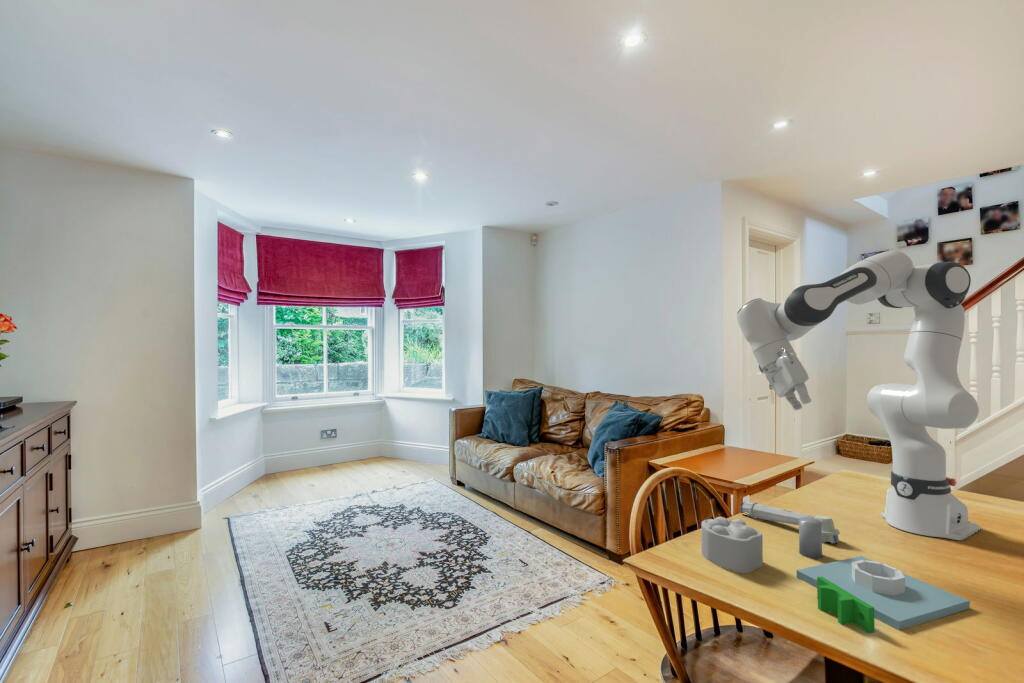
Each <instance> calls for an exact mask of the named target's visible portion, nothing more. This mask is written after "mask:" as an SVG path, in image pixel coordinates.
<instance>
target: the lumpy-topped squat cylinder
mask: <svg viewBox="0 0 1024 683" xmlns="http://www.w3.org/2000/svg"><path fill="white" fill-rule="evenodd" d="M700 534H701V535H700V536H701V555H702V554H703V555H702V556H703V558H704V559H705V560H707V561H708V560H709V561H710V562H709V561H708V562H709V563H711V562H712V563H711V564H713V563H714V564H713V565H715V564H716V566H718V565H719V566H718V567H720V566H721V567H720V568H722V567H723V569H725V568H726V569H725V570H727V569H729V570H728V571H730V570H731V571H730V572H734V571H735V572H734V573H737V572H738V573H739V574H750V573H751V572H753V571H754V570H757V569H760V567H761V568H762V567H763V566H764V563H763V562H764V561H763V560H764V559H763V558H764V556H763V555H764V554H763V552H764V551H763V545H764V544H763V543H764V542H763V534H762V532H761V531H760V530H758V529H757V528H756V529H755V528H754V527H752V526H750V525H747V524H746V522H745V521H744V520H743V519H742V518H741V519H740V518H735V519H727V518H726V517H724V516H717V517H715V518H714V519H713V518H708V519H704V520H702V521H701V533H700ZM752 570H753V571H752ZM749 572H750V573H749Z"/></svg>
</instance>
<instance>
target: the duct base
mask: <svg viewBox="0 0 1024 683" xmlns="http://www.w3.org/2000/svg"><path fill="white" fill-rule="evenodd" d="M817 577H824V578H825V579H827V580H829V581H830V582H832V583H834V584H835V585H837V586H839V587H840V588H842V589H844V590H845V591H847V592H849V593H851V594H852V595H854V596H856V597H857V598H859V599H861V600H862V601H864V602H866V603H867V604H869V605H871V606H872V607H874V619H877V620H879V621H881V622H883V623H884V624H886V625H888V626H890V627H892V628H894V629H895V630H897V631H901V630H904V629H908V628H911V627H914V626H917V625H920V624H921V625H922V624H925V623H926V622H930V621H933V620H938V619H940V618H944V617H946V616H950V615H954V614H956V613H959V612H963V611H966V610H970V609H971V606H970V605H971V604H970V603H971V602H970V600H969V599H967V598H964V597H961V596H959V595H958V594H954V593H952V592H950V591H947V590H945V589H942V588H940V587H938V586H935V585H933V584H931V583H927V582H925V581H923V580H921V579H918V578H916V577H914V576H911V575H909V574H906V573H904V572H902V571H901V570H900V569H898V568H895V567H893V566H890V565H889V564H886V563H884V562H879V561H875V560H872V559H870V558H867V557H865V556H863V555H859V556H855V557H854V556H853V557H850V558H846V559H840V560H837V561H832V562H827V563H823V564H818V565H813V566H808V567H806V568H805V567H803V568H800V569H796V578H798V579H799V580H801V581H803V582H806V583H807V584H809V585H811V586H813V587H815V588H817Z"/></svg>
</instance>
